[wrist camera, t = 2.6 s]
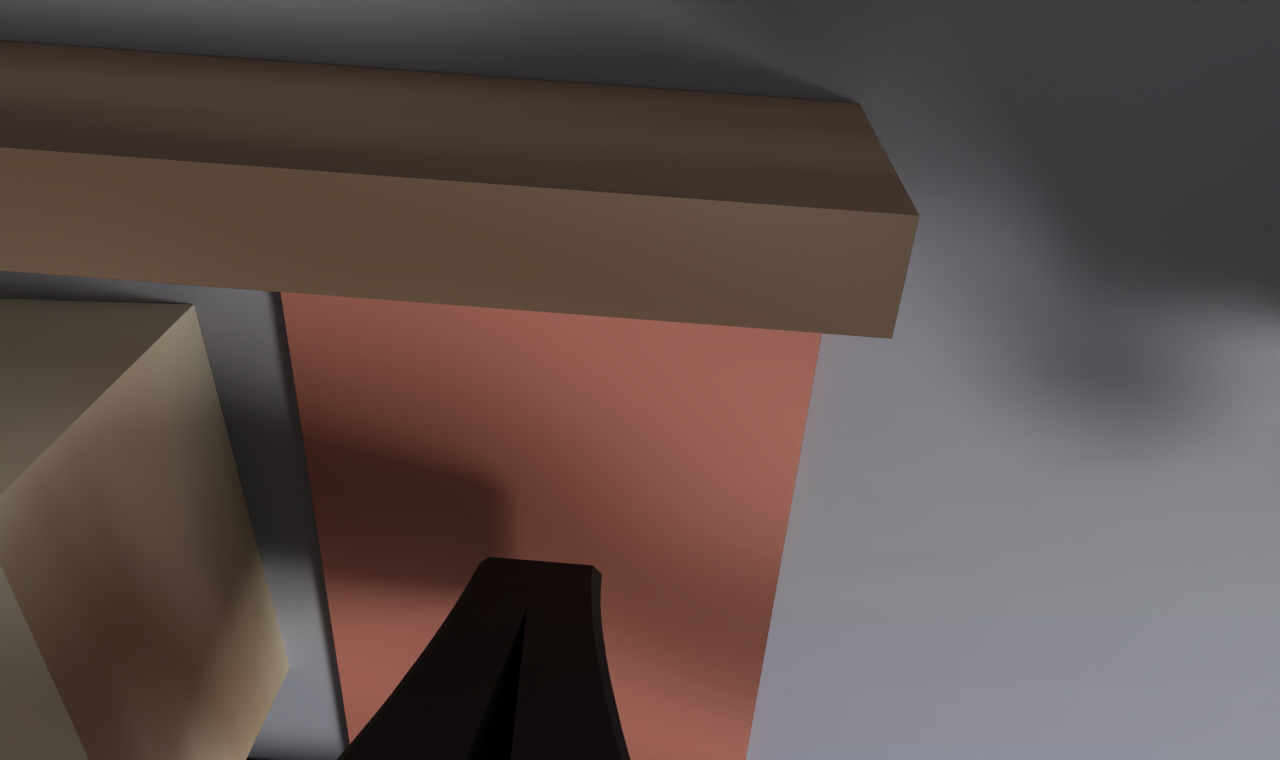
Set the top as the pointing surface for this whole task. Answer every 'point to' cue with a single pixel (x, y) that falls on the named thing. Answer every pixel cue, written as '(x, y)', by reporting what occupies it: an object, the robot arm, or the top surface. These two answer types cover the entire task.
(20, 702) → the birch block
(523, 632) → the robot arm
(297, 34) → the top surface
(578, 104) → the channel
